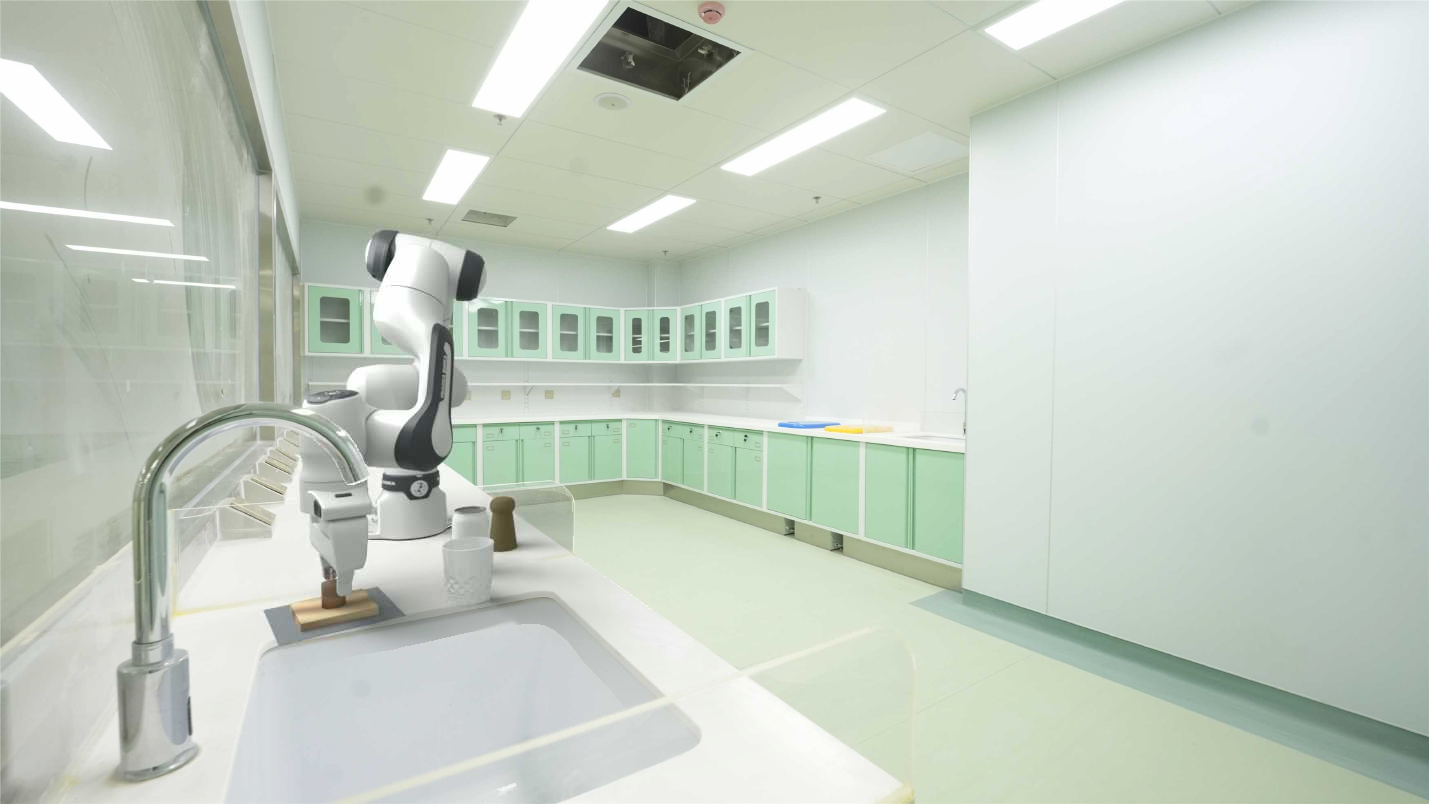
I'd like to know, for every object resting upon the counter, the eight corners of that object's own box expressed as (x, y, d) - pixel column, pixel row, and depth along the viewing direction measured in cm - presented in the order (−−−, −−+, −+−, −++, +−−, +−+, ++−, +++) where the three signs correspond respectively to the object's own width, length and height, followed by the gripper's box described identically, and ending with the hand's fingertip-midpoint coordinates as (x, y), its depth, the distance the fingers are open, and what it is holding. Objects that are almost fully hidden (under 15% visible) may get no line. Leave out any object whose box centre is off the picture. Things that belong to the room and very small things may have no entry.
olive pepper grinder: (493, 553, 128) (493, 501, 128) (483, 546, 133) (483, 496, 132) (521, 548, 132) (521, 497, 132) (511, 542, 137) (511, 493, 136)
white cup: (502, 603, 102) (501, 543, 101) (453, 616, 96) (452, 553, 96) (482, 590, 108) (482, 533, 107) (435, 601, 102) (435, 542, 102)
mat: (263, 614, 96) (263, 609, 96) (377, 590, 106) (377, 586, 106) (279, 651, 84) (278, 645, 84) (405, 620, 95) (405, 614, 95)
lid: (289, 610, 95) (289, 580, 95) (362, 595, 102) (361, 567, 102) (301, 632, 88) (300, 599, 88) (378, 614, 95) (378, 583, 94)
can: (476, 578, 113) (475, 514, 113) (444, 575, 115) (444, 512, 114) (495, 567, 120) (495, 506, 119) (465, 564, 121) (465, 504, 120)
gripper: (297, 489, 99) (299, 573, 100) (324, 511, 85) (327, 610, 85) (342, 484, 104) (343, 565, 104) (375, 504, 89) (377, 599, 89)
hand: (336, 585), depth 95 cm, fingers open, 8 cm apart
